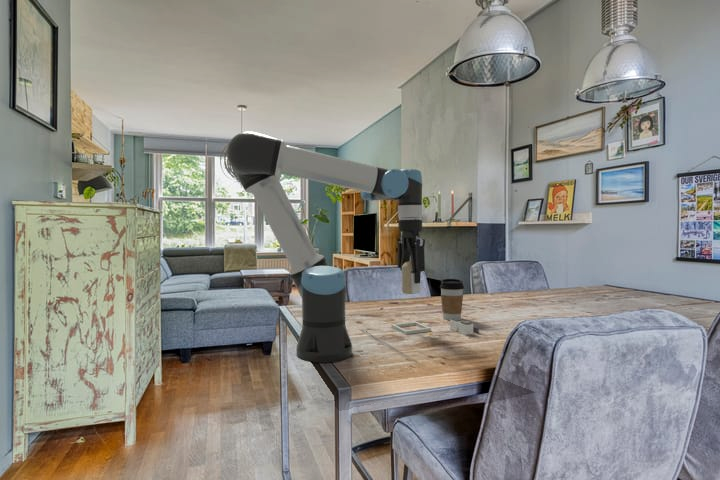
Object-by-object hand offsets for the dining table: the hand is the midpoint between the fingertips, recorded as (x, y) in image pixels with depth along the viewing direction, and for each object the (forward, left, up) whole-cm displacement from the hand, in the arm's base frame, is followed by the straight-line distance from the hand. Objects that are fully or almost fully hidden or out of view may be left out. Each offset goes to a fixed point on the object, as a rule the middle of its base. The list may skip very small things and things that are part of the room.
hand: (410, 291), depth 130 cm
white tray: (+5, -4, -13) cm, 15 cm away
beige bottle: (0, 0, -1) cm, 1 cm away
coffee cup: (+20, +7, -14) cm, 25 cm away
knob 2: (+13, -11, -12) cm, 21 cm away
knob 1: (+13, -7, -12) cm, 19 cm away
